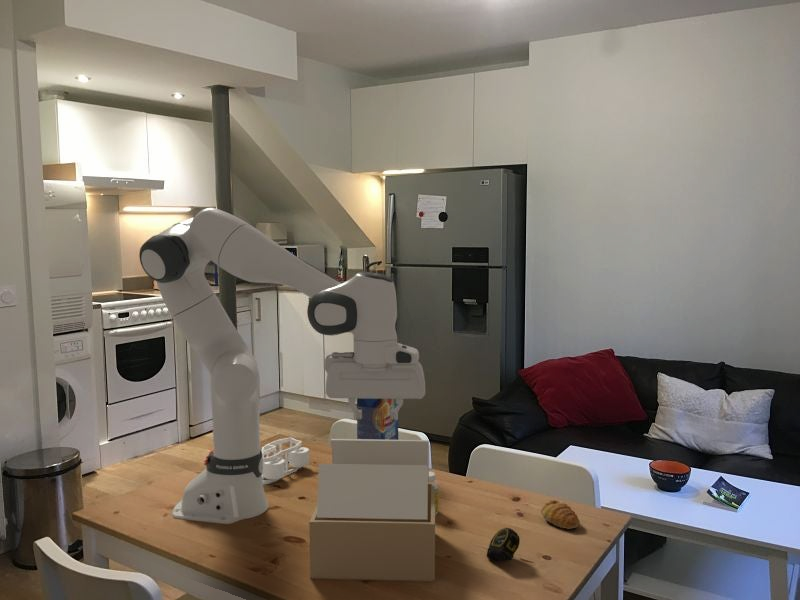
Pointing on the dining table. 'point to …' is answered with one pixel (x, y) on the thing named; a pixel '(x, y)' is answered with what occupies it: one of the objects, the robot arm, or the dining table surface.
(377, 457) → the far flap
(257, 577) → the dining table surface
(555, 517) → the pastry
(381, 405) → the juice carton
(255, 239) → the robot arm
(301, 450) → the wheeled car silhouette
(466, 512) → the dining table surface
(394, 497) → the near flap
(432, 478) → the supplement bottle
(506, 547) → the tape measure
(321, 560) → the carton
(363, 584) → the dining table surface
